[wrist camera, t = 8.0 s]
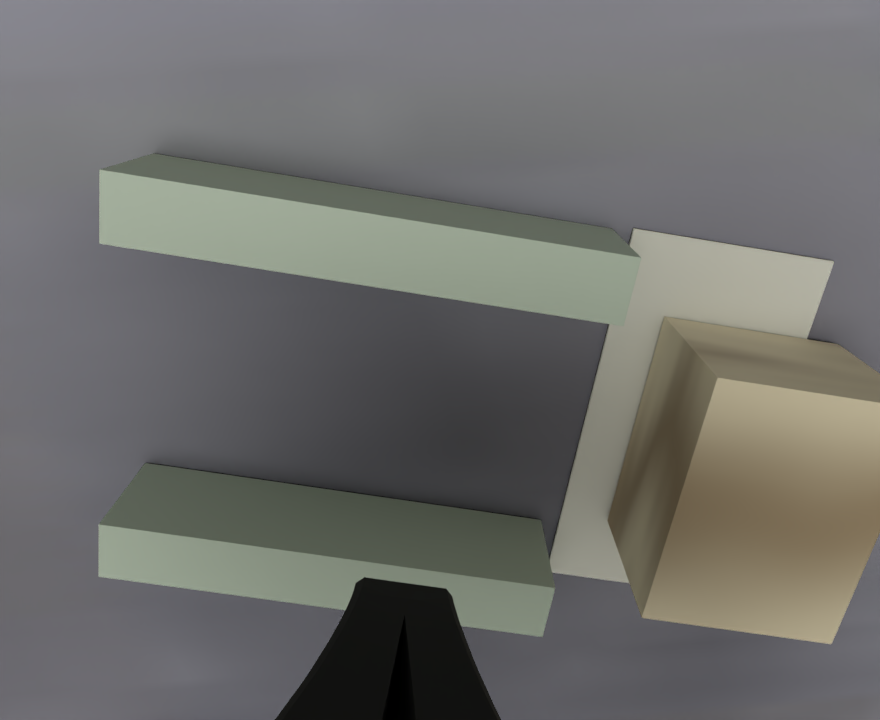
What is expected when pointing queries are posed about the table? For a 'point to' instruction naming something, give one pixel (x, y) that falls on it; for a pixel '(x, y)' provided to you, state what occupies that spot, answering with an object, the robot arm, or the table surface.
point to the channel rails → (364, 263)
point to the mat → (631, 353)
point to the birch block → (750, 482)
